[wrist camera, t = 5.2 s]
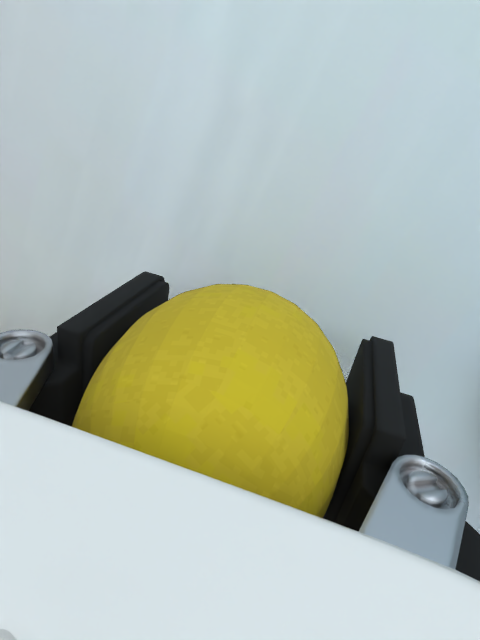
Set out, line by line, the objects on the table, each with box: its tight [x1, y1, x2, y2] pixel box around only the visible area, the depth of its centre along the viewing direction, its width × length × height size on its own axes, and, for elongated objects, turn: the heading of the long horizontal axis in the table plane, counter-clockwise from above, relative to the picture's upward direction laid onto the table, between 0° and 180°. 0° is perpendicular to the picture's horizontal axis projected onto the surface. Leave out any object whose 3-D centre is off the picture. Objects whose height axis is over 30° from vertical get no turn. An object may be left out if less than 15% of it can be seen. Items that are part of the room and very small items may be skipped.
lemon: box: [72, 284, 349, 518], centre depth 9 cm, size 6×6×8 cm
